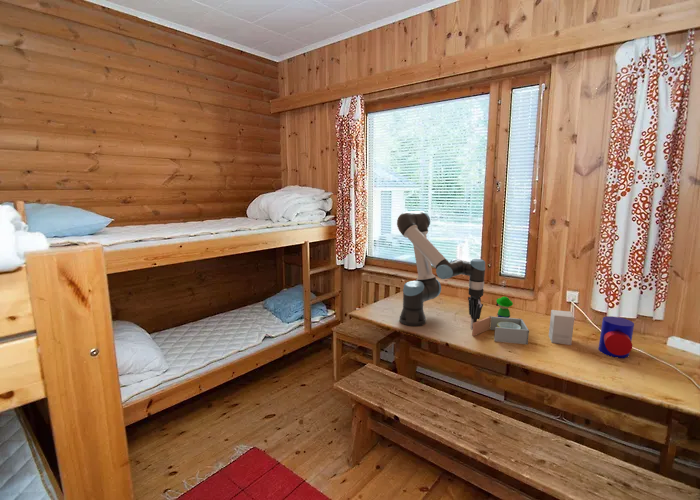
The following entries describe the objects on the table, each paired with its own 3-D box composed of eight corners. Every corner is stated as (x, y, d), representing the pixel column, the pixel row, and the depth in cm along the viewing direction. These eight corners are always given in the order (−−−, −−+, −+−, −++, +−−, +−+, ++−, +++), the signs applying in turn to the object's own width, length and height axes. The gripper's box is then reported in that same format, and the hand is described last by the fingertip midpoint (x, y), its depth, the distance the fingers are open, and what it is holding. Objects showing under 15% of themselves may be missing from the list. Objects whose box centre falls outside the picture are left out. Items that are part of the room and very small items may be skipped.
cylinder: (632, 364, 161) (637, 331, 158) (600, 357, 167) (604, 325, 164) (625, 346, 178) (630, 316, 175) (596, 341, 184) (601, 312, 181)
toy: (508, 318, 214) (510, 294, 212) (513, 324, 206) (515, 299, 203) (493, 317, 215) (494, 294, 212) (497, 323, 207) (499, 298, 204)
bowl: (501, 330, 198) (502, 319, 197) (523, 336, 190) (524, 325, 189) (492, 336, 190) (493, 325, 189) (515, 343, 182) (516, 331, 181)
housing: (494, 341, 184) (495, 327, 183) (490, 329, 199) (491, 316, 198) (527, 344, 181) (529, 330, 179) (520, 331, 196) (522, 318, 194)
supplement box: (567, 338, 188) (570, 311, 185) (571, 345, 180) (575, 317, 177) (548, 335, 191) (551, 309, 188) (551, 342, 182) (554, 315, 180)
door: (470, 334, 192) (471, 321, 190) (487, 327, 201) (488, 315, 199) (473, 336, 190) (474, 323, 189) (490, 328, 199) (491, 316, 198)
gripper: (488, 291, 185) (485, 333, 190) (477, 284, 198) (474, 324, 202) (475, 292, 184) (472, 334, 189) (464, 284, 197) (461, 324, 201)
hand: (473, 329), depth 195 cm, fingers closed
